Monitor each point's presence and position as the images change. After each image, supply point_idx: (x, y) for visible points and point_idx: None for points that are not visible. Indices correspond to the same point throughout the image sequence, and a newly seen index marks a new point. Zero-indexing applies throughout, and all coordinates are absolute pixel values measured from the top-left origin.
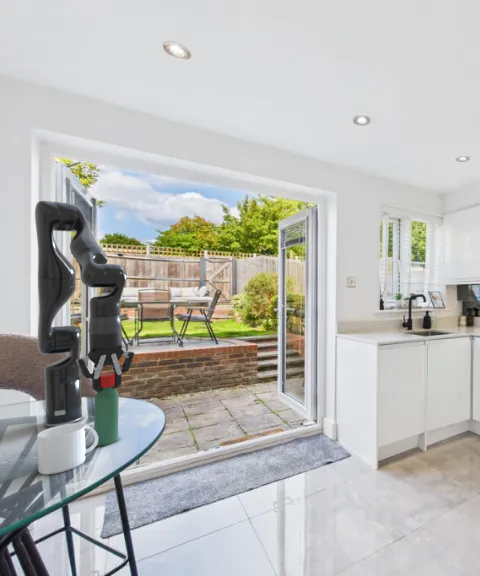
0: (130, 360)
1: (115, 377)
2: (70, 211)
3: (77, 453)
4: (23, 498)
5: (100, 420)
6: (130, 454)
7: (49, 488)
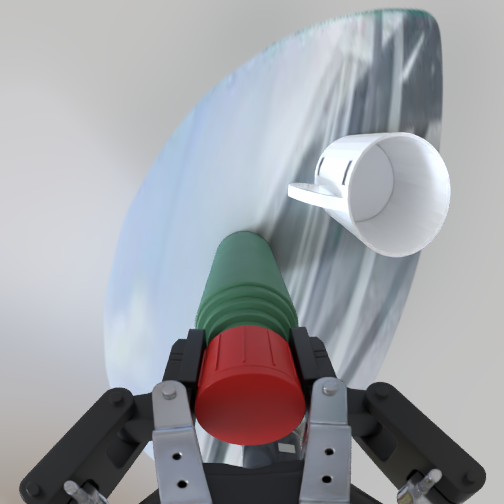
0: (64, 450)
1: (199, 377)
2: None
3: (350, 138)
4: (425, 82)
5: (271, 260)
6: (226, 99)
7: (394, 78)
